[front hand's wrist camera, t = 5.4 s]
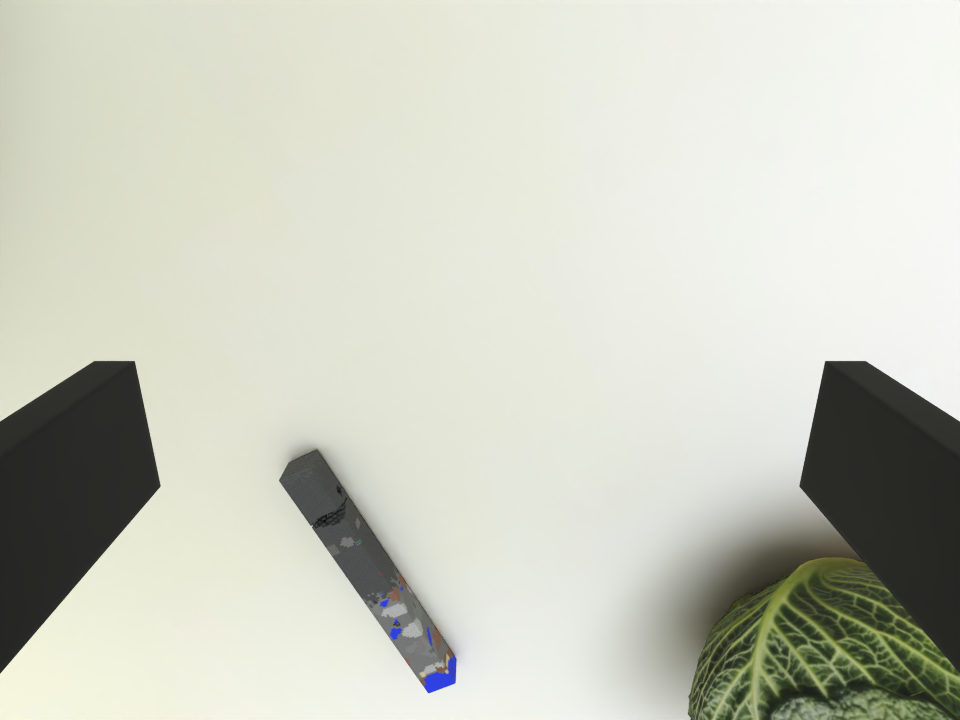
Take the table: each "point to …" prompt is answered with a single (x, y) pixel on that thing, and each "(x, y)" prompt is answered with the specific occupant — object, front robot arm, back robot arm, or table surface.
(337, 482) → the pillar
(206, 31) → the table surface
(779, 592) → the vegetable
